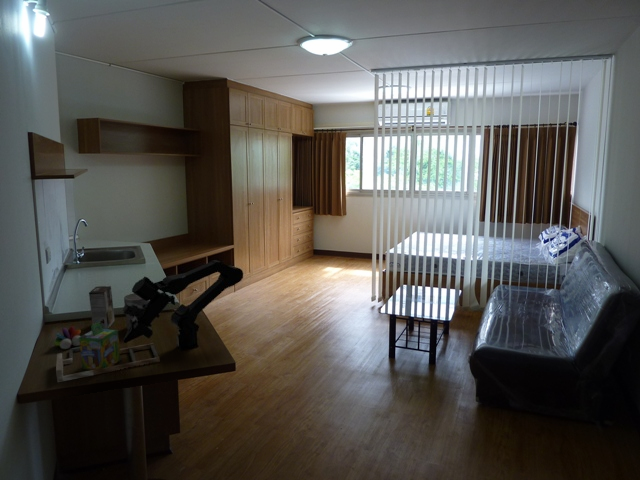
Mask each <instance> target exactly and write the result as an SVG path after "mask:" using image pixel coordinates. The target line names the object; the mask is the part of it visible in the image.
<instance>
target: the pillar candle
mask: <svg viewBox="0 0 640 480" xmlns="http://www.w3.org/2000/svg"><path fill="white" fill-rule="evenodd" d="M149 301H150V300H147V301H145V300H143V299H142V298H140V297H139V296H137V295H136V294H135V293H133V292H132V293H129V294H126V295H125V296H124V297H123V302H124V304H125V303H126V302H129V303H133V304H137V305H140V306H142V305H143V304H145V303H146V304H147V303H148V302H149ZM133 318H134V317H133V316H129V314H128V315H127V314H125V320H126V321H125V322H126V323H125V324H126V329H127V331H128V330H129V328H130V319H131V320H133Z"/></svg>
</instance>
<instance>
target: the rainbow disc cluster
mask: <svg viewBox="0 0 640 480" xmlns="http://www.w3.org/2000/svg"><path fill="white" fill-rule="evenodd" d="M61 331H62V334H63V335H62V334H60V333H59V332H57V333H56V334H55V335H56V337H55V338H54V345H55V346H59V347H60V348H61V349H62V350H69V349H71V346H74V347H80V342H79V337H81V336H82V335H80V334H82V333H81V331H82V330H81V329H75V326H70V327H69V328H68V329H67V328H66V327H63V328H62V330H61Z"/></svg>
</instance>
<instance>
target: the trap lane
mask: <svg viewBox="0 0 640 480" xmlns="http://www.w3.org/2000/svg"><path fill="white" fill-rule="evenodd" d="M149 349H150V350H151V352H152V354H153V357H150V358H146V359H145V358H144V359H141V360H136V356H135V353H134V352H138V351H144V350H149ZM68 350H69V351H68V352H69V353H68V354H69V355H68V356H69V357H68V358H66V359H63V353H62V352H60V353H56V366H55V367H56V368H55V372H56V373H55V375H56V380H57V383H62V382H66V381H72V380H76V379H80V378H86V377H90V376H91V377H92V376H95V375H100V374H105V373H110V372H111V373H112V372H115V370H116V371H120V369H121V370H125V369H124V368H126V369H129V368H128V367H131V368H135V367H134V366H136V367H139V365H140V366H144V364H145V365H149V363H150V364H154V363H159V362H160V361H161V360H160V356H159V354H158V352H157V350H156V348H155V345H154V343H153V342H150V343H146V344H140V345H136V346H135V345H134V346H130V347H123V348H120V355H123V354H128V353H129V356H130V359H131V362H126V363H121V364H114V365H113V366H110V367H105V368H100V369H95V370H85V371H81V372H76V373H72V374H71V373H70V374H65V375H64V365H69V364H70V365H71V364H73V363H74V356H73V355H74V353H77V352H81V350H80V346H75V347H72V348H71V347H70V348H68ZM122 353H123V354H122Z"/></svg>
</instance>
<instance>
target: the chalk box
mask: <svg viewBox="0 0 640 480" xmlns="http://www.w3.org/2000/svg"><path fill="white" fill-rule="evenodd" d="M95 327H99V329H95ZM90 329H91V330H90V331H88V332H86V333H84V334H82V335H80V336H81V337H79V342H80V345H79V347H80V350H81V351H80V356H81V365H82V370H87V371H90V370H95V369H100V368H105V367H110V366H115V365H117V363H119V362H121V361H122V360H121V354H120V349H121V348H120V339H119V337H120V336H119V331H118V329H111V328H110V329H109V328H108V329H102V327H101V324H100V322H98V323H96V324H94V325H91V326H90Z"/></svg>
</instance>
